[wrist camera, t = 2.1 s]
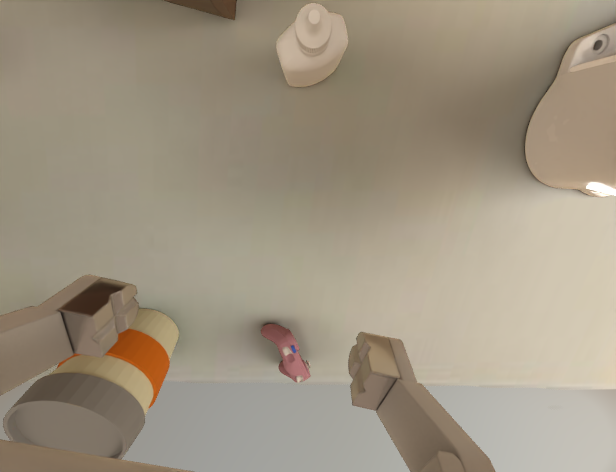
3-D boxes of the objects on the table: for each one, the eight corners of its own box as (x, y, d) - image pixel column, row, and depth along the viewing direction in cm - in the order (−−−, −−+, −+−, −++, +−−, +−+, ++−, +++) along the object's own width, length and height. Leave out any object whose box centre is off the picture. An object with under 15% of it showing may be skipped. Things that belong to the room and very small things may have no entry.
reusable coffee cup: (205, 344, 41) (154, 454, 27) (144, 367, 43) (67, 480, 29) (157, 287, 36) (66, 383, 22) (91, 315, 38) (-30, 420, 24)
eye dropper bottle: (286, 34, 24) (271, -45, 13) (340, 47, 25) (370, -20, 14) (280, 84, 26) (263, 50, 15) (331, 95, 27) (351, 70, 16)
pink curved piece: (301, 353, 44) (319, 382, 38) (278, 368, 42) (294, 401, 36) (283, 310, 40) (300, 335, 34) (257, 325, 39) (271, 354, 32)
